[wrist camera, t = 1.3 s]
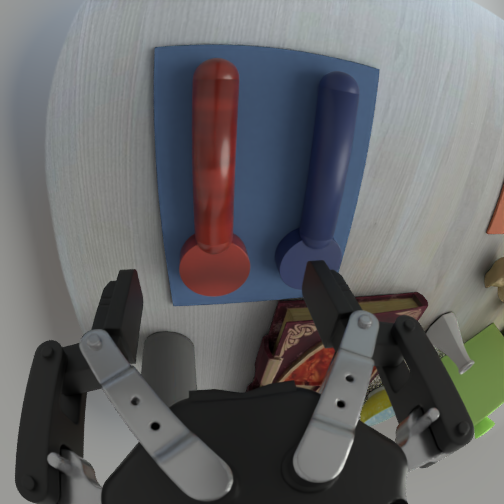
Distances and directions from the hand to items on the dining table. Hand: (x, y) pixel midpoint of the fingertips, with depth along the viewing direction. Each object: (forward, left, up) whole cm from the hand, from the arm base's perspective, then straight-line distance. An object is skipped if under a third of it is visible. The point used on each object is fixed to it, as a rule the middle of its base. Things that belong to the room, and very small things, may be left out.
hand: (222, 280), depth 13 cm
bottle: (+18, -5, -10) cm, 21 cm away
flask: (+23, +38, -10) cm, 45 cm away
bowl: (+43, +33, -10) cm, 55 cm away
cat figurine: (+12, +48, -10) cm, 50 cm away
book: (+26, +15, -10) cm, 31 cm away
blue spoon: (0, +8, -9) cm, 12 cm away
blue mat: (0, +4, -10) cm, 10 cm away
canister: (+45, +59, -10) cm, 74 cm away
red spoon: (0, 0, -9) cm, 9 cm away
